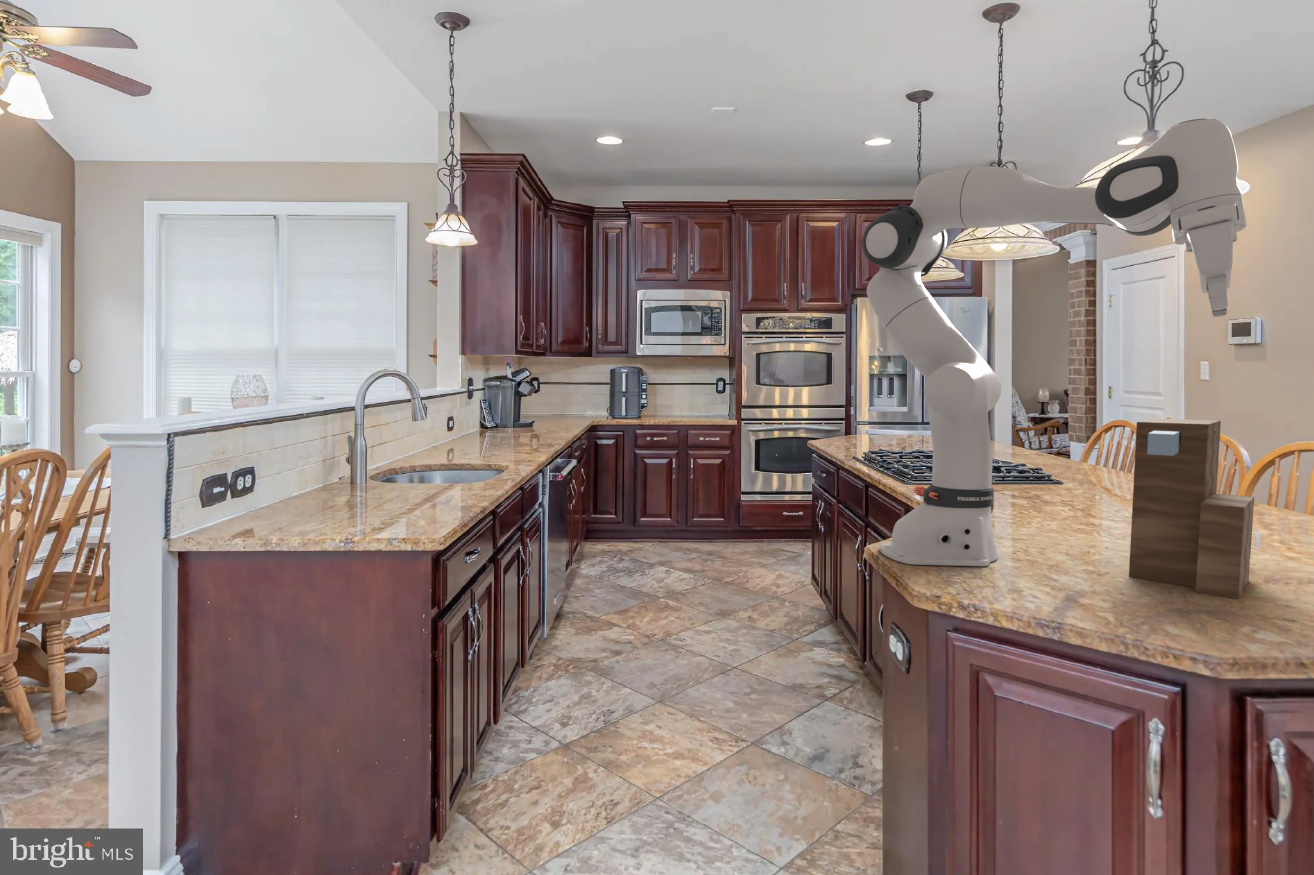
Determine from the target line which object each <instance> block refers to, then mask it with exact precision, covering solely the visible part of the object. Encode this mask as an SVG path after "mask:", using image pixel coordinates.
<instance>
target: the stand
mask: <svg viewBox="0 0 1314 875" xmlns="http://www.w3.org/2000/svg"><path fill="white" fill-rule="evenodd" d="M1221 421H1222V420H1213V419H1178V418H1176V419H1175V418H1151V419H1146V420H1140V421H1136V430H1135V450H1134V451H1135V452H1134V471H1133V488H1132V489H1133V490H1132V506H1131V507H1132V509H1131V511H1132V512H1131V525H1130V526H1131V529H1130V547H1129V548H1130V549H1129V564H1128V566H1129V567H1128V577H1130V578H1135V577H1137V579H1141V580H1147V579H1149V581H1154V582H1159V581H1160V583H1165V582H1167V583H1166V584H1172V585H1177V584H1178V586H1184V587H1190V588H1195V592H1196V593H1202V594H1207V595H1213V596H1219V597H1226V598H1231V599H1237V600H1238V599H1239V598H1240V597H1241V595H1242V593H1243V592H1244V590H1245V588H1246V587H1247V585H1248V583H1249V581H1250V567H1251V550H1252V540H1253V539H1252V537H1253V536H1252V535H1253V533H1252V532H1253V520H1254V506H1255V496H1250V495H1249V496H1247V495H1238V494H1237V495H1236V494H1235V495H1234V494H1227V493H1225V494H1224V493H1217V488H1218V487H1217V485H1218V472H1219V471H1218V470H1219V456H1220V454H1219V452H1220V442H1221V440H1220V438H1221V426H1222V425H1221ZM1152 431H1174V432H1181V442H1179V452H1178V453H1177V454H1175V455H1174V456H1169V455H1152V454H1147V449H1148V433H1150V432H1152Z"/></svg>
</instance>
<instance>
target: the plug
mask: <svg viewBox="0 0 1314 875" xmlns="http://www.w3.org/2000/svg"><path fill="white" fill-rule="evenodd" d="M1179 442H1181V432H1174V431H1152V432H1150V433H1148V449H1147V454H1152V455H1169V456H1174V455H1175V454H1177V453H1178V452H1179Z"/></svg>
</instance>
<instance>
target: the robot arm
mask: <svg viewBox="0 0 1314 875" xmlns="http://www.w3.org/2000/svg"><path fill="white" fill-rule="evenodd" d="M1234 142H1235V141H1234V138H1233V136H1232V132H1231V131H1230V129H1229V127H1228V126H1227V125H1226V123H1225V122H1222V121H1221V120H1218V119H1215V118H1205V117H1204V118H1195V119H1190V120H1185V121H1182V122H1179V123H1177V124H1174V125H1173V126H1170V127H1169V128H1167V129H1166V130H1165V131H1163V133H1162V134H1161V136H1160V137H1159V138H1158V139H1156V140H1155V142H1153V143H1152V144H1150V145H1149V147H1147V148H1146V149H1144V150H1143V151H1141V152H1140V153H1138V154H1136V155H1135V156H1133V157H1131V158H1129V159H1127V160H1126V161H1123V162H1121V163H1118V164H1117V165H1114V166H1113V167H1111V168H1110V169H1109V170H1108V171H1106V172H1105V173H1104V174H1103V176H1102V177H1101V178H1100V180H1099V182H1098V183H1097V185H1096V186H1090V187H1089V186H1088V187H1087V186H1086V187H1085V186H1082V187H1081V186H1075V187H1074V186H1058V185H1053V184H1049V183H1046V182H1043V181H1042V180H1041V181H1040V180H1039V179H1036V178H1034V177H1033V176H1032V177H1031V176H1030V175H1028V174H1025V173H1023V172H1021V171H1019V170H1017V169H1015V168H1014V169H1013V168H1008V167H1003V166H1001V167H1000V166H993V165H990V166H988V165H987V166H985V165H984V166H983V165H982V166H969V167H959V168H954V169H948V170H943V171H939V172H936V173H931V174H929V175H927V176H926V177H924V178H923V179H922V180H920V182H919V184H918V185H917V187H916V189H915V191H914V194H913V200H912V202H911V204H910V205H907V204H899V205H898V206H896V207H894V208H893V209H891V210H890V211H888V212H886V213H883V214H882V215H880V216H878V217H877V218H874V220H872V221H871V222H870V223H869V224H868V226H866V228H865V230H864V232H863V235H862V238H861V239H862V240H861V247H862V252H863V254H864V255H865V258H867V259H868V261H869V262H871V263H872V264H874V265H876V267H880V268H879V271H878V272H877V273H876V274H875V275H873V277H871V279H870V280H869V282H868V285H867V286H866V295H867V298H868V301H869V303H870V306H871V307H872V310H873V311H874V313H875V315H876V317H877V319H878V320H879V322H880V324H881V325H882V327H883V329H885V331H886V333H887V334H888V336H889V337H890V338H891V340H892V341H893V342H894V343H895V345H896V346H897V348H898V349H899V351H900V352H901V353H902V355H903V357H904V358H905V360H907V362H909V363H910V364H911V365H912V366H913V367H914V368H915V369H916V370H917V371H918V372H919V373H920V374H921V375H922V376H923V377H924V378H925V379H926V381H925V383H924V388H923V395H924V400H925V402H926V405H927V412H928V422H929V427H930V435H931V440H932V475H931V478H932V479H931V484H930V485H929V486H928V487H925V486H921V485H916V486H915V487H914V488H913V493H914V494H915V495H916V496H919V497H923V498H922V499H923V500H922V501H923V502H921V503H920V504H919V505H917V506H916V507H914V509H912V510H911V511H910V512H908V513H907V514H905V515H904V516H902V517H901V518H899V519H898V520H897V521H896V522H895V524H894V526H893V530H892V535H891V542H885V543H881V544H880V547H879V551H880V552H881V553H882V555H884V556H886V557H888V558H889V559H891V560H892V561H895V562H899V563H904V564H906V565H919V566H921V565H922V566H924V565H925V566H957V567H958V566H959V567H961V566H963V567H988V566H989V565H990V563H992V562H994V561H997V560H998V559H999V555H998V550H997V548H996V547H997V546H996V542H995V536H994V530H993V517H992V516H993V515H992V514H993V511H994V503H995V501H994V500H995V496H994V495H995V488H994V487H993V486H992V482H993V481H992V480H993V478H992V477H993V450H994V447H993V444H992V439H991V431H990V424H989V412H990V411H992V409H994V408H995V406H996V405H997V403H998V402H999V400H1000V397H1001V395H1002V383H1001V380H1000V378H999V376H998V375H997V374H996V372H995V370H993V369H992V368H991V367H990V365H989V364H988V363H987V362H986V360H985V359H984V358H983V357H982V356H981V355H980V353H979V352H978V351H977V350H976V349H975V348H974V347H973V346H972V344H971V343H969V341H968V340H967V339H966V338H965V337H964V336H963V335H962V333H961V332H960V331H959V330H958V329H957V328H956V327H955V326H954V324H953V323H952V322H951V320H950V319H949V318H948V317H947V315H946V313H945V312H944V311H943V310H942V309H941V307H940V306H939V305H938V303H937V302H936V300H935V299H934V297H933V296H932V295H931V294H930V292H929V291H928V290H927V288H925V285H924V284H923V282H922V279H921V277H922V278H923V277H925V276H926V275H929V273H930V271H931V270H932V268H933V267H934V265H935V264H936V263H937V262H938V260H940V259H941V257H942V256H943V254H944V253H945V251H946V248H947V244H948V233H947V231H946V230H948V229H983V228H984V229H985V228H988V229H989V228H998V227H999V228H1000V227H1009V226H1019V225H1029V224H1040V223H1044V224H1045V223H1048V224H1050V223H1051V224H1052V223H1053V224H1056V223H1057V224H1088V225H1089V224H1091V225H1105V226H1109V227H1113V228H1115V229H1117V230H1119V231H1121V232H1124V233H1126V234H1129V235H1132V236H1136V237H1137V236H1139V237H1143V236H1151V235H1154V234H1157V233H1159V232H1161V231H1162V230H1164V229H1166V228H1168V227H1169V226H1170V225H1171V232H1172V238H1173V243H1174V244H1175V245H1184V251H1185V252H1187V253H1193V256H1194V260H1195V264H1196V266H1197V270H1198V276H1199V283H1200V290H1201V292H1202V293H1203V294H1208V301H1209V303H1210V308H1211V313H1212V314H1211V315H1212V317H1214V318H1220V317H1225V316H1226V315H1227V314H1228V311H1227V308H1228V305H1229V303H1228V294H1227V292H1228V289H1229V288H1230V285H1231V277H1232V276H1231V275H1232V268H1233V258H1234V257H1233V252H1234V243H1235V242H1236V241H1238V235H1237V234H1238V232H1241V231H1243V230H1245V228H1246V227H1247V219H1246V218H1247V217H1246V212H1245V205H1244V198H1243V192H1242V190H1241V189H1240V187H1239V184H1238V182H1237V181H1238V180H1237V178H1238V172H1239V163H1238V157H1237V152H1236V146H1235V144H1234Z"/></svg>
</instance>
